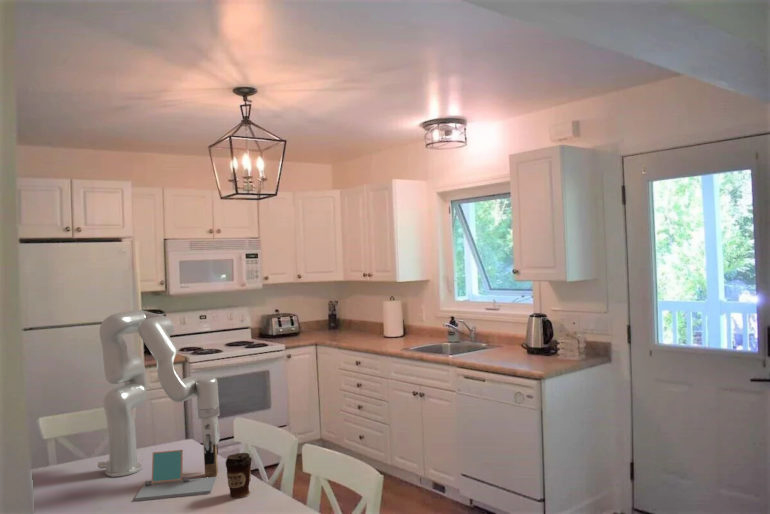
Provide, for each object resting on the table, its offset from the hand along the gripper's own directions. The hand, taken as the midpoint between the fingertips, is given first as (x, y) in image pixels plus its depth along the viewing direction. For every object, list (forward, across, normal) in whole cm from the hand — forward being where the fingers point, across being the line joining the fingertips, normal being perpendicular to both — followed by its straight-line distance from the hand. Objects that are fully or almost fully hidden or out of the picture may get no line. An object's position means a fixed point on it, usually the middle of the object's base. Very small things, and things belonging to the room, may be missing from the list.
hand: (211, 459), depth 222 cm
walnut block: (+6, 0, 0) cm, 6 cm away
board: (+6, -11, +10) cm, 16 cm away
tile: (-1, -6, +14) cm, 15 cm away
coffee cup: (+6, -22, -12) cm, 25 cm away
